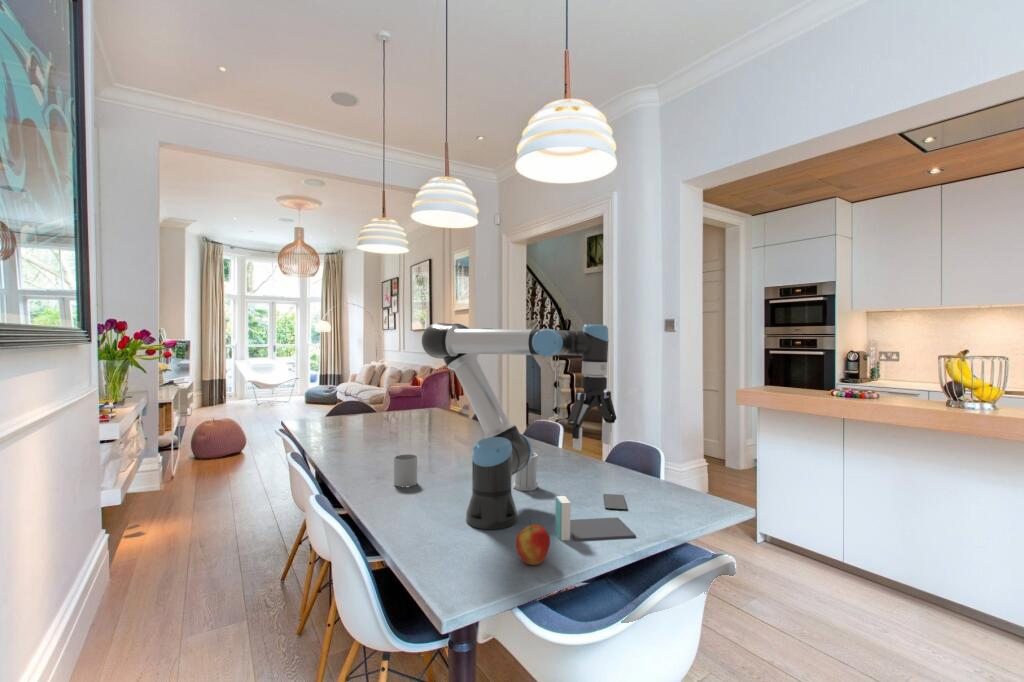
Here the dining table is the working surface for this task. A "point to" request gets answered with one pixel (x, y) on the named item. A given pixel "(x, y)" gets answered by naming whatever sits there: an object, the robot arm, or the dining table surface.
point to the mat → (599, 529)
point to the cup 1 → (405, 470)
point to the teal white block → (562, 518)
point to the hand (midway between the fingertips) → (592, 446)
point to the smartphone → (615, 502)
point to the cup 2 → (527, 476)
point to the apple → (533, 544)
